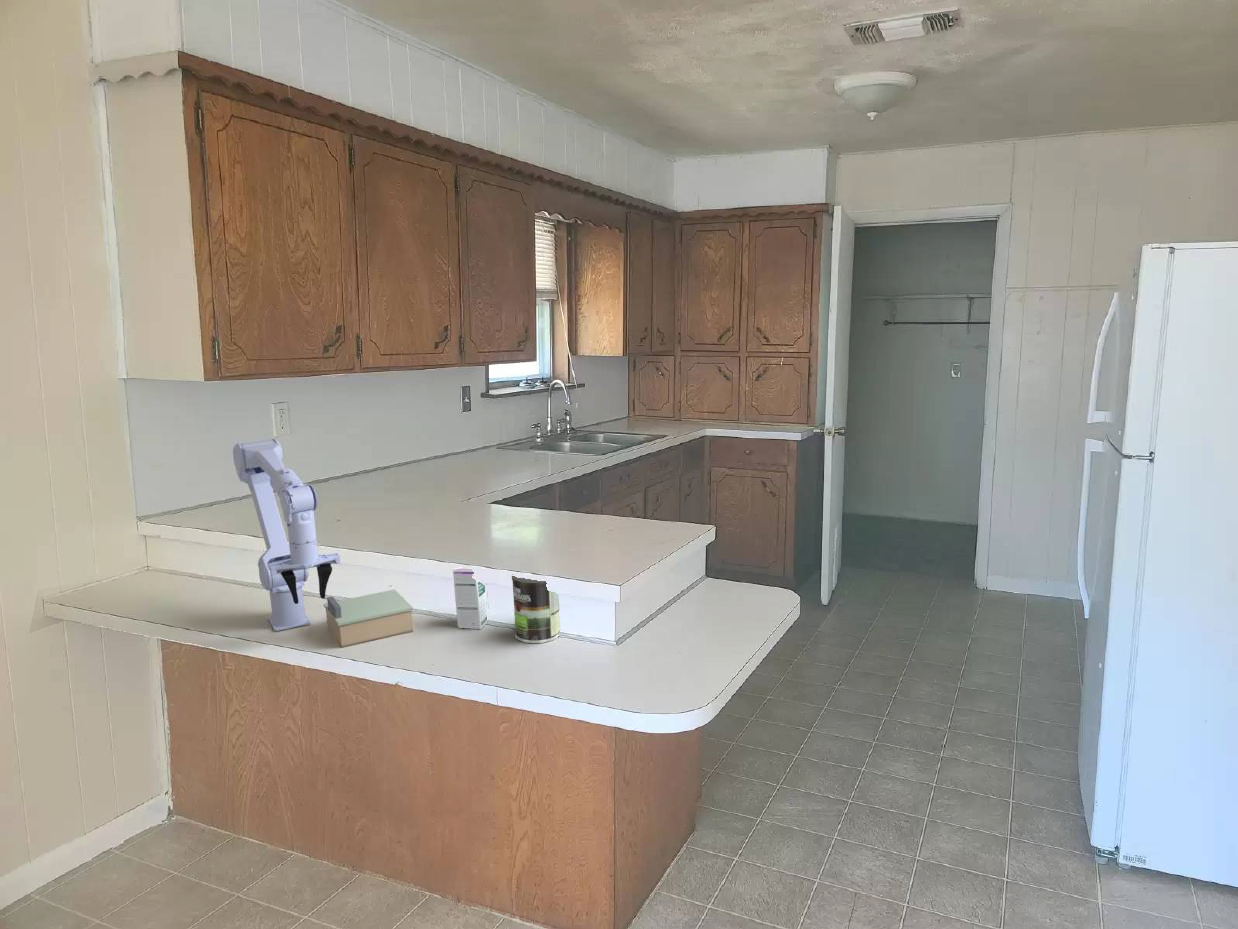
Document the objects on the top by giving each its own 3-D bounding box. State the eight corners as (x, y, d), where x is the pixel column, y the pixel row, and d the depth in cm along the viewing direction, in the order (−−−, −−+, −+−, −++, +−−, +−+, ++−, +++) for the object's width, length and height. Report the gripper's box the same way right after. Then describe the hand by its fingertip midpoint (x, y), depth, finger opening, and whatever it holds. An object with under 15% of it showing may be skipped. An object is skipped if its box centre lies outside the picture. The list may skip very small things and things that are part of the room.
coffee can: (532, 647, 188) (528, 585, 186) (506, 634, 196) (502, 574, 193) (570, 634, 195) (567, 574, 192) (544, 622, 203) (540, 564, 200)
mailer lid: (323, 606, 203) (322, 593, 202) (394, 591, 211) (393, 579, 210) (338, 626, 190) (337, 612, 190) (413, 610, 198) (412, 597, 198)
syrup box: (481, 630, 199) (477, 569, 196) (456, 628, 200) (452, 568, 197) (489, 620, 205) (485, 561, 202) (465, 619, 206) (461, 560, 203)
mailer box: (327, 627, 204) (325, 607, 203) (395, 612, 211) (393, 593, 210) (341, 647, 192) (339, 626, 191) (413, 631, 200) (411, 610, 199)
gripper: (270, 551, 184) (277, 612, 187) (341, 539, 191) (347, 598, 194) (265, 543, 190) (272, 602, 193) (333, 532, 197) (339, 589, 200)
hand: (309, 599), depth 193 cm, fingers open, 5 cm apart
